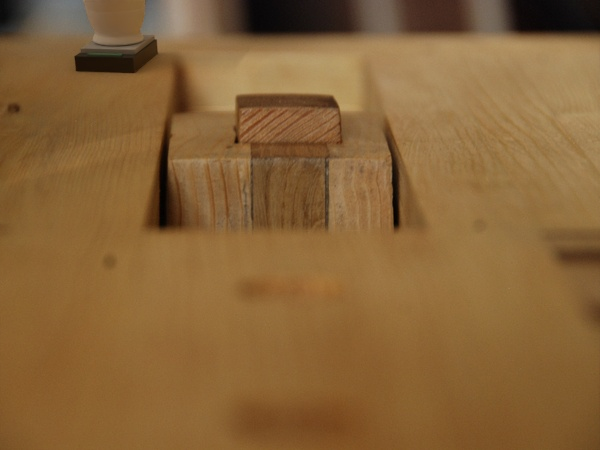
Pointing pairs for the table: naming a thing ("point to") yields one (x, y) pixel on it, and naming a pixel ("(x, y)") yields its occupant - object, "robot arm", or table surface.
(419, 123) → the table surface
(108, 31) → the jar
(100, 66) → the scale
